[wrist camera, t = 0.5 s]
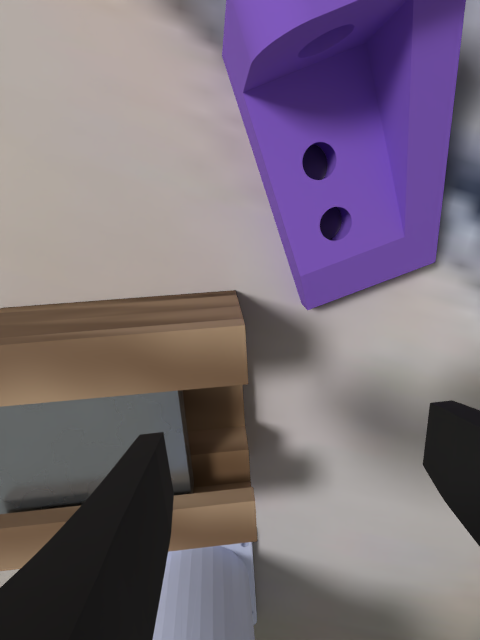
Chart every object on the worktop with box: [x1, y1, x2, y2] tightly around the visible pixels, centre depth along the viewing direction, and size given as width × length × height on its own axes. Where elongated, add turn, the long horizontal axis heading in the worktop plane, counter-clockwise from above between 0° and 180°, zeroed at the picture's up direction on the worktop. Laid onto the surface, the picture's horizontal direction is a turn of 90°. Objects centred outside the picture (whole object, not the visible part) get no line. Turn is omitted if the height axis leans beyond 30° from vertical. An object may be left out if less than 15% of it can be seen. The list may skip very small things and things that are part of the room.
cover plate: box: [0, 390, 194, 514], centre depth 16 cm, size 8×12×2 cm, turn 93°
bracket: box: [222, 0, 466, 310], centre depth 14 cm, size 12×7×7 cm, turn 20°
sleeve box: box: [0, 290, 257, 571], centre depth 17 cm, size 11×12×6 cm
